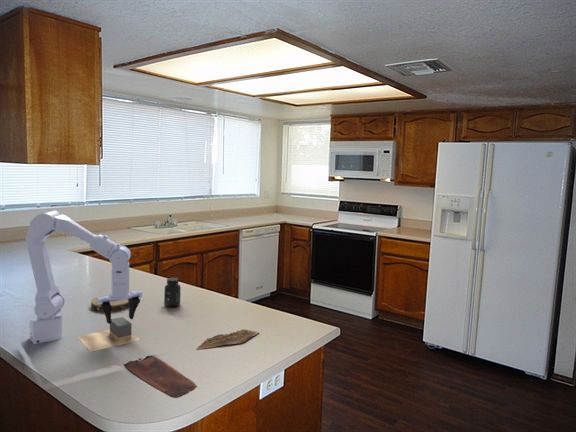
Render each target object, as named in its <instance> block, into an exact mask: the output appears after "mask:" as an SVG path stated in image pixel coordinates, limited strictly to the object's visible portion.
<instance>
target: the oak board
mask: <svg viewBox="0 0 576 432" xmlns="http://www.w3.org/2000/svg"><path fill="white" fill-rule="evenodd" d="M76 338H77V339H78V340H79V341H80V343H82V344H83V345H84V347H85V348H86V349H87V350H89V352H90V353H92V352H96V351H101V350H106V349H109V348H110V349H111V348H113V347H118V346H122V345H125V344H131V343H134V342H138V341H141V339H140V338H139V337H137V336H136V335H135V334H134V333H133V332H131V338H128V339H124V340H119V341H118V340H117V339H116V338H114V337H113V336H112V335H111V334H110V329H106V330H101V331H96V332H91V333H88V334H82V335H78V336H76Z"/></svg>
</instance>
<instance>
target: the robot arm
mask: <svg viewBox="0 0 576 432" xmlns="http://www.w3.org/2000/svg"><path fill="white" fill-rule="evenodd" d="M59 232H60V233H61V232H64V233H65V232H66V233H68V234H70V235H73V236H75V237H77V238H78V239H80V240H82V241H84V242H86V243H88V245H89V247H90V249H91V250H93V251H94V252H95V253H96V254H99V255H101V256H102V257H104V258H106V259H109V262H110V264H111V283H110V284H111V294H105V295H106V296H104V295H101V296H102V297H99V296H97V297H98V298H97V303H98V304H99V305H101V307H102V309H103V311H104V312H103V313H104V315H105V319H106V320H105V321H106V323H107V324H109V325H110V324H111V319H112V312H111V310H112V306H111V305H110V302H113V301H119V300H125V299H128V302H129V308H128V318H129V319H130V320H134V317H135V313H136V310H137V308H138V306H139V304H140V302H141V298H143V292H142V291H141V290H137V291H136V290H135V291H130V261H129V260H130V259H131V257H132V253H131V250H130V249H129V248H128V247H127V246H126V245H121V243H119V242H118V243H116V242H114V241H113V240H112V239H110V238H109V236H108V235H107V234H105V235H103V234H94V233H93V232H91V231H89V230H88V229H86V227H84V226H82V225H80V224H79V223H77V222H76V221H74V220H73V219H72V218H70V217H69V216H67V215H65V214H62V213H61V212H59V211H58V210H49V211H47V212H41V213H38V214H36V215H35V216H34V217H33V218H32V219H31V220H30V221H29V227H28V230H27V233H26V235H25V242H26V243H25V244H26V247H27V251H28V255H29V260H30V265H31V268H32V269H31V270H32V273H33V277H34V282H35V287H36V290H37V291H36V294H35V298H34V301H35V306H34V308H33V309H34V310H33V311H34V315H35V316H36V317H35V318H34V317H33V318H30V320H29V342H32V344H33V345H36V344H41V343H47V342H53V341H57V340H60V339H61V338H63V312H62V309H63V307H64V306H65V298H64V296H63V295H62V293H60V289H59V287H57V286H56V284H55V279H54V274H53V269H52V266H51V261H50V257H49V252H48V248H47V242H46V240H47V239H48V238H49V237H50V236H51V234H52V233H59Z"/></svg>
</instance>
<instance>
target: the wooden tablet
mask: <svg viewBox="0 0 576 432" xmlns="http://www.w3.org/2000/svg"><path fill="white" fill-rule="evenodd" d="M124 367H126V369H128V370H129V371H130V372H131V373H133V374H134V375H135V376H137V377H139V378H140V379H141V380H143V381H145V382H146V383H148V384H149V385H151V386H152V387H153V386H154V387H155V388H156V389H158V390H159V391H161V392H163V393H165V394H167V395H169V396H172V397H175V398H177V397H180V396H181V397H182V396H183V395H186V394H189V393H190V392H193V391H194V390H196V389H197V388H198V386H197V384H196V383H195V382H194V381H193V380H191V379H190V378H188V377H186V376H185V375H184V374H182V373H181V372H179V371H178V370H177V369H175V368H174V367H172V366H171V365H170V364H168V363H167V362H165V361H163V360H162V359H160V358H158V357H156V356H155V355H148V356H146V357H144V358H143V359H142V360H132V361H129V362H126V363H125V364H124Z"/></svg>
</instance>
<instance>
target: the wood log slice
mask: <svg viewBox="0 0 576 432" xmlns="http://www.w3.org/2000/svg"><path fill="white" fill-rule="evenodd" d="M106 295H107V294H105V295H104V294H103V295H99V296H97V297H94V298H93V299H92V300H91V301H90V306H91V307H90V308H91V310H93V311H94V312H98V313H104V311H103V309H102V307H101V305H99V304H98V303H97V298H98V297H102V296H106ZM110 305H111V306H112V310H111V313H114V312H121V311H124V310H126V309H127V310H128V309H129V302H128V299H125V300H119V301H113V302H110Z"/></svg>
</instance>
